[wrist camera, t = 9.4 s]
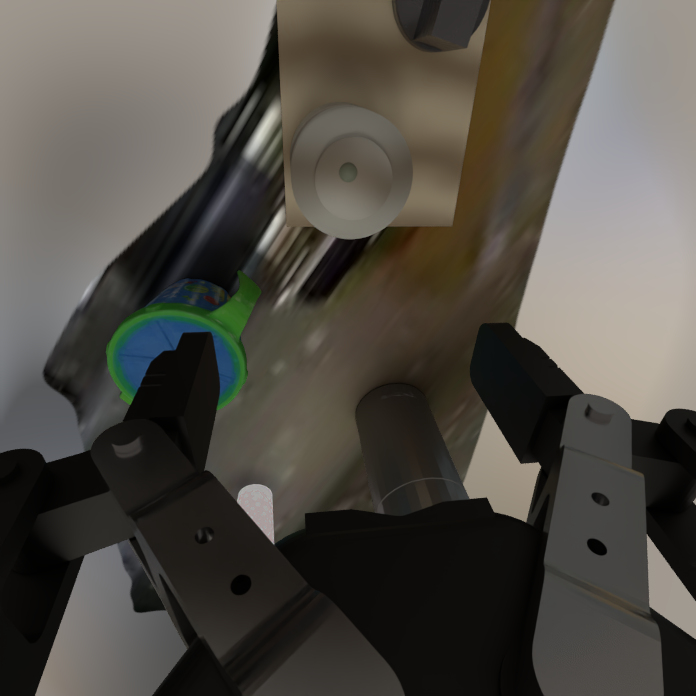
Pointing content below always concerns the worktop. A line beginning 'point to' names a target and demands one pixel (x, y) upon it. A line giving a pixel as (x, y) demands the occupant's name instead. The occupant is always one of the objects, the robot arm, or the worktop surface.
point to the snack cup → (185, 316)
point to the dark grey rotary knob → (439, 22)
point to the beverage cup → (258, 507)
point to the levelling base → (382, 88)
